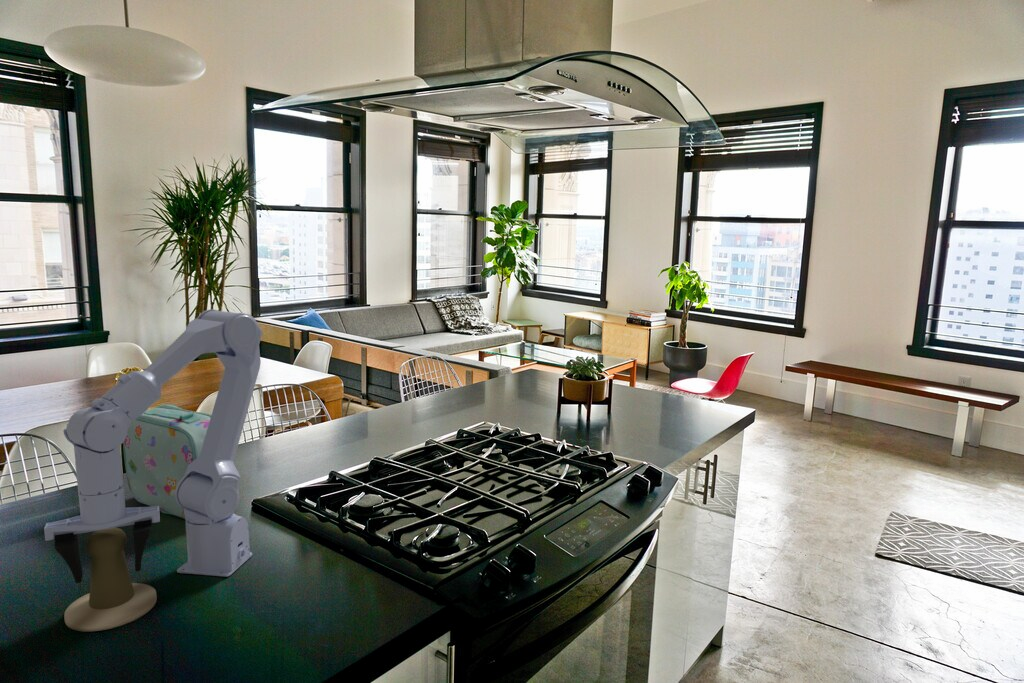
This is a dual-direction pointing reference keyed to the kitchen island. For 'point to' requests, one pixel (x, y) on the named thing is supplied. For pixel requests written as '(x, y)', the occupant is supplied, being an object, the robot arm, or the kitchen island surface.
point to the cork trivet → (110, 611)
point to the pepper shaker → (109, 569)
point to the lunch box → (162, 454)
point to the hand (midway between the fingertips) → (109, 574)
